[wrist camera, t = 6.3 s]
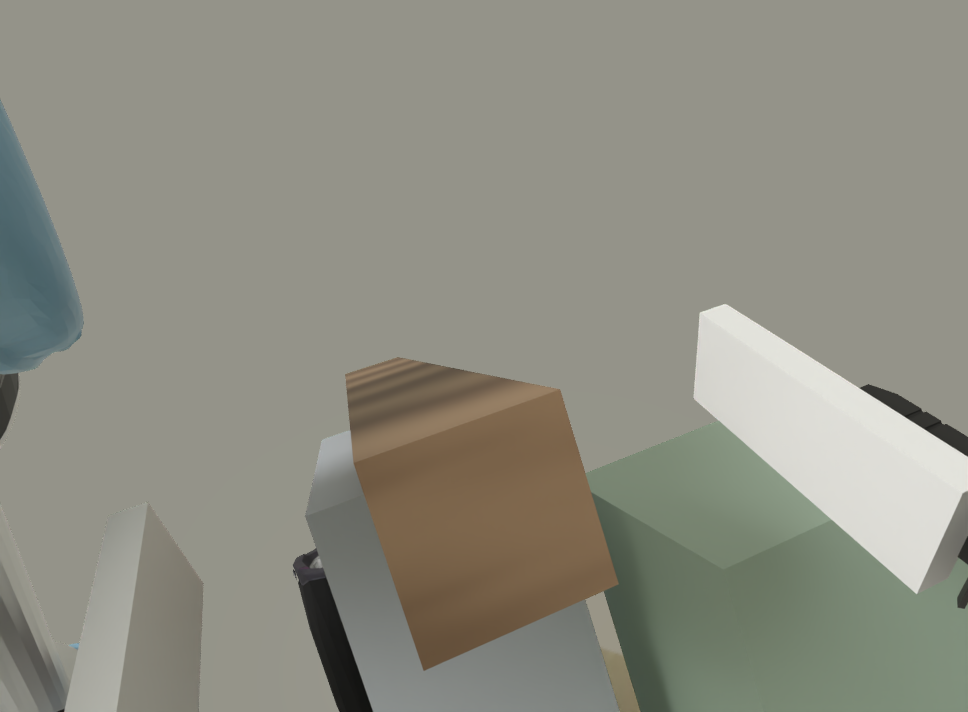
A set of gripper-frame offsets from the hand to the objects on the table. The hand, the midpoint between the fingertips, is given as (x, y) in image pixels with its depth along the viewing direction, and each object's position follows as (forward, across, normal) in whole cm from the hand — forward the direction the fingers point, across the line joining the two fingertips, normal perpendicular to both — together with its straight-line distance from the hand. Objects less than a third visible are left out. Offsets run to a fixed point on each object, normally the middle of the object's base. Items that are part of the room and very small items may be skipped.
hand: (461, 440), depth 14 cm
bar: (+10, 0, -10) cm, 14 cm away
